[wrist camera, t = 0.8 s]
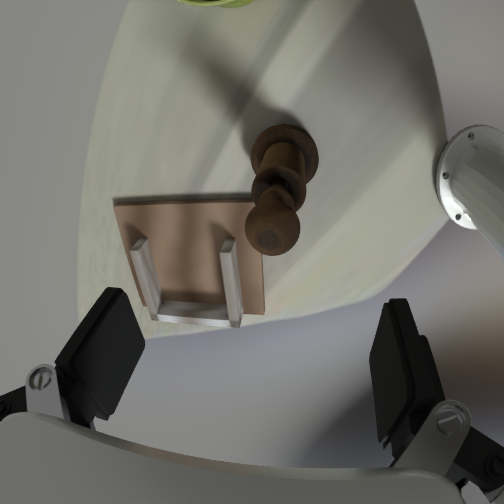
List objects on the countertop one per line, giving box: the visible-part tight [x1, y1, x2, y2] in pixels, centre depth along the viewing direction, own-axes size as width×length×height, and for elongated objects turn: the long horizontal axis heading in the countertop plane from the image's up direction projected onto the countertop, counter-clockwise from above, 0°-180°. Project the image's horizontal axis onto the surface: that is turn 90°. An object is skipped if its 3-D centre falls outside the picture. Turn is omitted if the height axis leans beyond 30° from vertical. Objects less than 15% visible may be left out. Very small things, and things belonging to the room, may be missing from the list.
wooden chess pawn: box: [245, 124, 319, 256], centre depth 24 cm, size 7×6×18 cm
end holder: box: [114, 199, 265, 328], centre depth 38 cm, size 18×16×4 cm
